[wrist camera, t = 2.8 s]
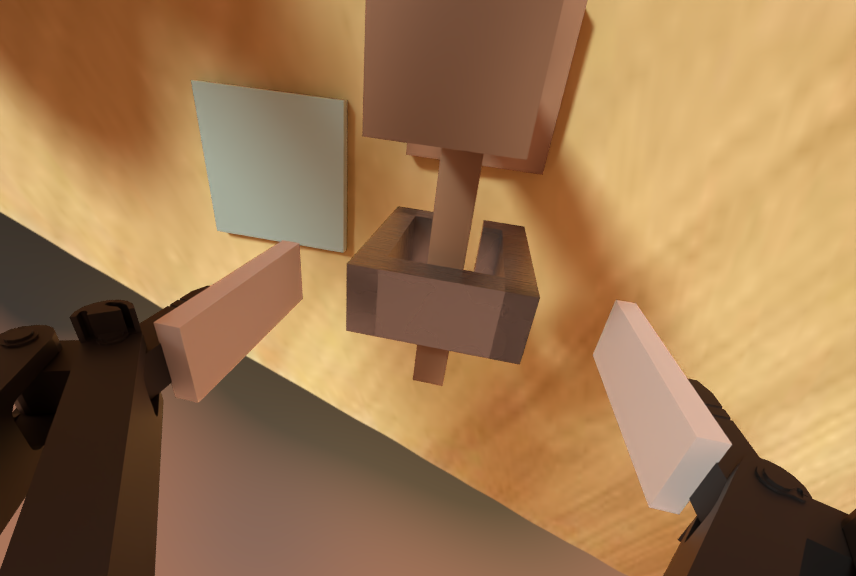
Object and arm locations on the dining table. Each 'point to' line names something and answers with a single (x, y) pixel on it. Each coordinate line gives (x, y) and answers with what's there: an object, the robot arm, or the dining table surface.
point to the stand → (466, 100)
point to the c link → (443, 290)
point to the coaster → (275, 163)
